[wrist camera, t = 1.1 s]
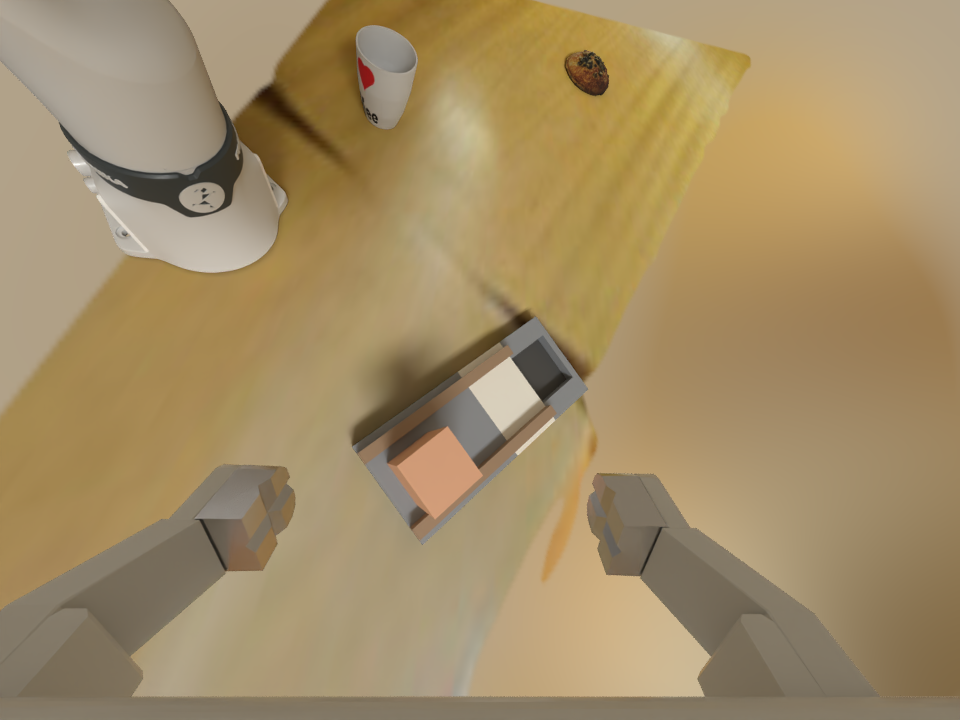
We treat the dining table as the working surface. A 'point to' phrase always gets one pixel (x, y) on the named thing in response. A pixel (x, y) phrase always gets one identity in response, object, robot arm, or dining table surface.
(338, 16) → the dining table surface
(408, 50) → the cup
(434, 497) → the block
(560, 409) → the tray
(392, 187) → the dining table surface
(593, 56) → the bread roll
